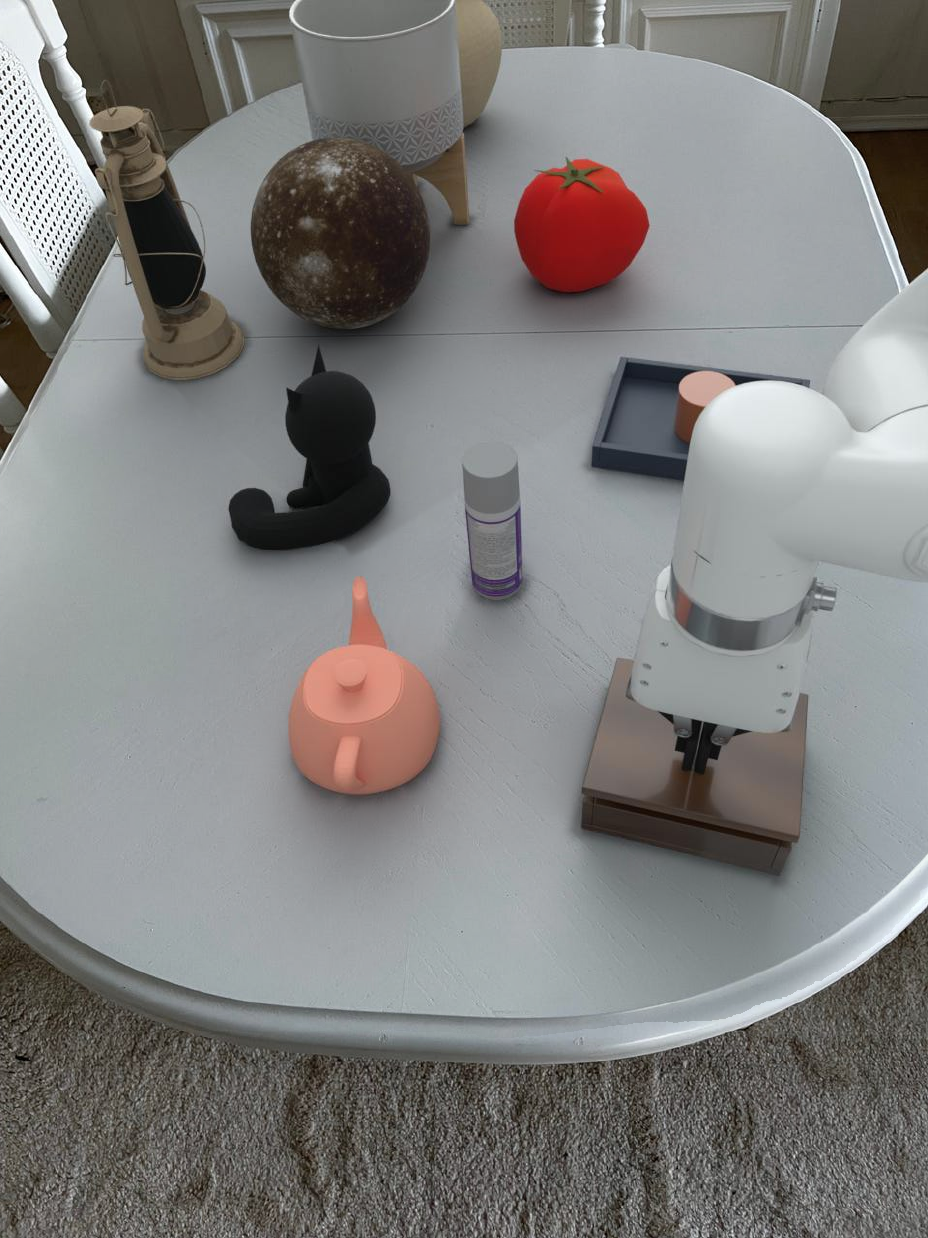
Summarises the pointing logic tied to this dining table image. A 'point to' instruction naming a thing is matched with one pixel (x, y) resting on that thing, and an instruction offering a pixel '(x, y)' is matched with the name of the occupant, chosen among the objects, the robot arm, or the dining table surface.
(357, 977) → the dining table surface
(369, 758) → the teapot
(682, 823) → the brown wooden shallow box
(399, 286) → the decorative sphere
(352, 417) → the figurine
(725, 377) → the orange cylinder puck
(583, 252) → the tomato
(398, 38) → the planter
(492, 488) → the container
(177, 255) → the lantern
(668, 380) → the tray
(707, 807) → the lid
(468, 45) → the vase
